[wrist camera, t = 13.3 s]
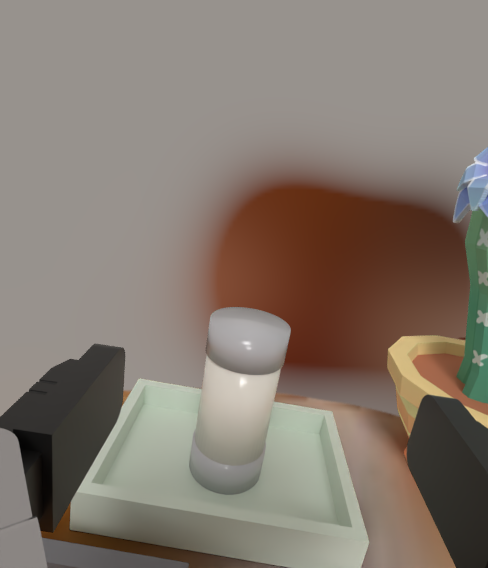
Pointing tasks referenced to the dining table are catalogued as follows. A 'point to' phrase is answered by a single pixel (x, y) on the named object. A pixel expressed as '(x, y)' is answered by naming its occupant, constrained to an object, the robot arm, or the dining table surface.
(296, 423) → the parts tray
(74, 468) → the robot arm
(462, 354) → the potted cactus
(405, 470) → the dining table surface
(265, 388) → the fuse
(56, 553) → the grey u-shaped bracket
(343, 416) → the dining table surface
